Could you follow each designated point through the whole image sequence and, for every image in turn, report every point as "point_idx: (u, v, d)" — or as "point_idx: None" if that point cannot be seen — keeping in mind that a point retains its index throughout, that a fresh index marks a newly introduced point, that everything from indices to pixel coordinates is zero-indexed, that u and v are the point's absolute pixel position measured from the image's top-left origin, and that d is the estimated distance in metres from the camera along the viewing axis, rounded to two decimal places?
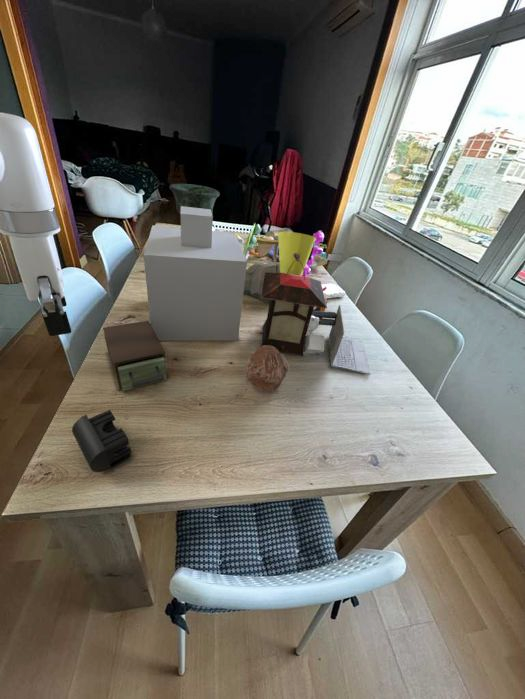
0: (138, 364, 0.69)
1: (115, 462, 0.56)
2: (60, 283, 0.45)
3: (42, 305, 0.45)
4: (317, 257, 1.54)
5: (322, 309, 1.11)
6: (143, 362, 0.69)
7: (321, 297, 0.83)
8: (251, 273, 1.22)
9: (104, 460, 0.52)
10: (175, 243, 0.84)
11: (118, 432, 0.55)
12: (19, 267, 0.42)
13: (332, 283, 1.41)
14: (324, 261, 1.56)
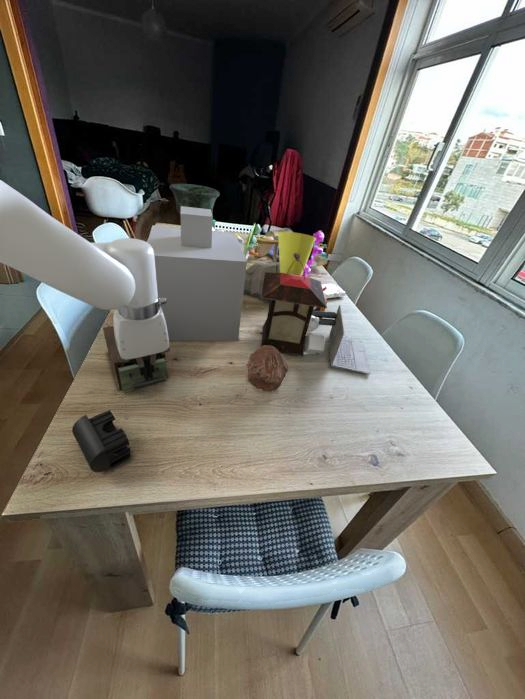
0: None
1: (115, 462, 0.56)
2: (121, 350, 0.58)
3: None
4: (317, 257, 1.54)
5: (322, 309, 1.11)
6: None
7: (321, 297, 0.83)
8: (251, 273, 1.22)
9: (104, 460, 0.52)
10: (175, 243, 0.84)
11: (118, 432, 0.55)
12: None
13: (332, 283, 1.41)
14: (324, 261, 1.56)
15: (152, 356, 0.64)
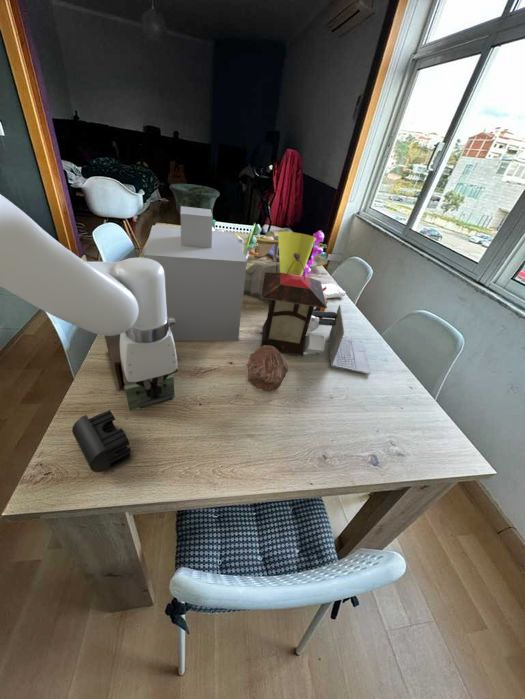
0: None
1: (115, 462, 0.56)
2: (127, 373, 0.55)
3: None
4: (317, 257, 1.54)
5: (322, 309, 1.11)
6: None
7: (321, 297, 0.83)
8: (251, 273, 1.22)
9: (104, 460, 0.52)
10: (175, 243, 0.84)
11: (118, 432, 0.55)
12: None
13: (332, 283, 1.41)
14: (324, 261, 1.56)
15: (159, 378, 0.61)
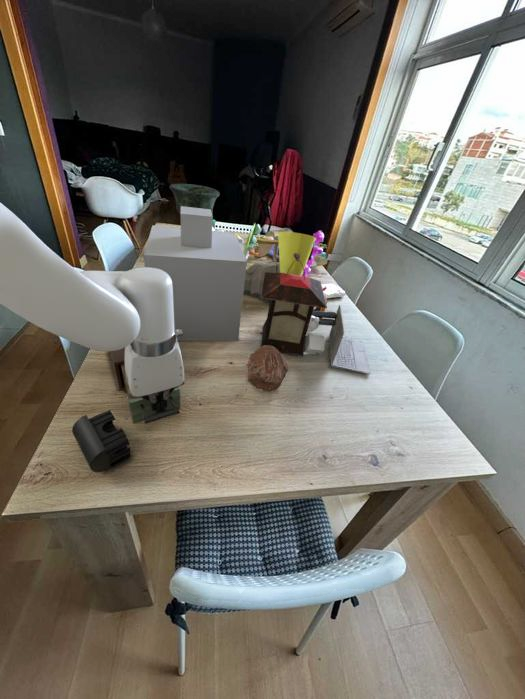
0: None
1: (115, 462, 0.56)
2: (132, 387, 0.53)
3: None
4: (317, 257, 1.54)
5: (322, 309, 1.11)
6: (156, 393, 0.62)
7: (321, 297, 0.83)
8: (251, 273, 1.22)
9: (104, 460, 0.53)
10: (175, 243, 0.84)
11: (118, 432, 0.55)
12: None
13: (332, 283, 1.41)
14: (324, 261, 1.56)
15: (165, 391, 0.58)
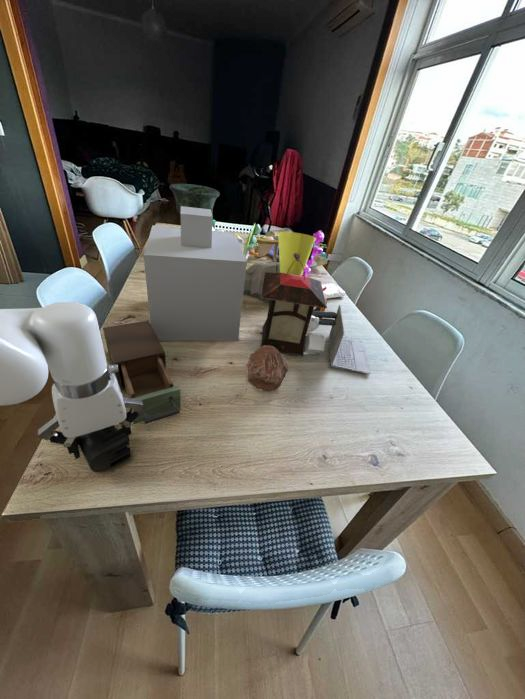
0: (151, 395, 0.61)
1: (115, 462, 0.56)
2: (62, 429, 0.48)
3: None
4: (317, 257, 1.54)
5: (322, 309, 1.11)
6: (156, 393, 0.62)
7: (321, 297, 0.83)
8: (251, 273, 1.22)
9: (104, 460, 0.52)
10: (175, 243, 0.84)
11: (118, 432, 0.55)
12: None
13: (332, 283, 1.41)
14: (324, 261, 1.56)
15: (121, 422, 0.54)
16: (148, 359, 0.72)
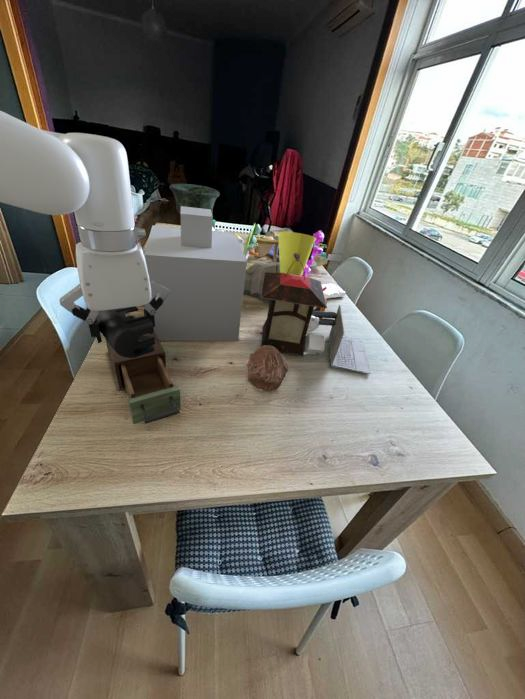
0: (151, 395, 0.61)
1: (138, 352, 0.53)
2: (86, 296, 0.45)
3: (87, 307, 0.49)
4: (317, 257, 1.54)
5: (322, 309, 1.11)
6: (156, 393, 0.62)
7: (321, 297, 0.83)
8: (251, 273, 1.22)
9: (128, 342, 0.49)
10: (175, 243, 0.84)
11: (142, 318, 0.52)
12: None
13: (332, 283, 1.41)
14: (324, 261, 1.56)
15: (145, 306, 0.51)
16: (148, 359, 0.72)
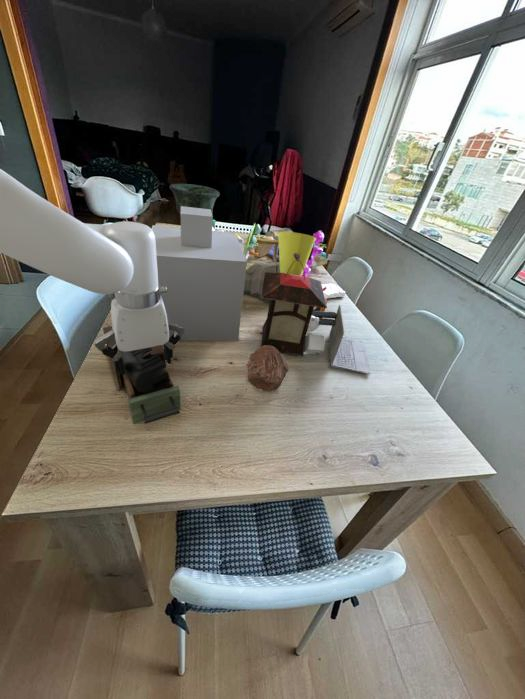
0: (151, 395, 0.62)
1: (157, 385, 0.64)
2: (118, 341, 0.55)
3: (114, 346, 0.59)
4: (317, 257, 1.54)
5: (322, 309, 1.11)
6: (156, 393, 0.62)
7: (321, 297, 0.83)
8: (251, 273, 1.22)
9: (146, 380, 0.60)
10: (175, 243, 0.84)
11: (154, 358, 0.63)
12: None
13: (332, 283, 1.41)
14: (324, 261, 1.56)
15: (166, 343, 0.62)
16: None
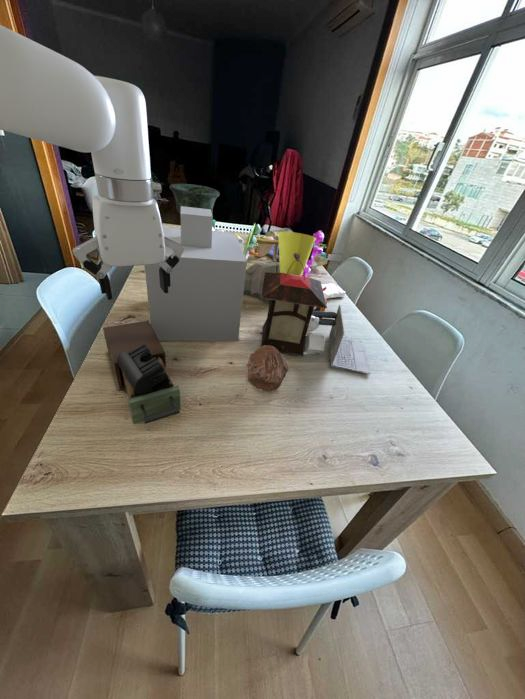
0: (151, 395, 0.62)
1: (157, 386, 0.64)
2: (102, 249, 0.45)
3: (98, 262, 0.49)
4: (317, 257, 1.54)
5: (322, 309, 1.11)
6: (156, 393, 0.62)
7: (321, 297, 0.83)
8: (251, 273, 1.22)
9: (145, 385, 0.60)
10: None
11: (152, 361, 0.62)
12: None
13: (332, 283, 1.41)
14: (324, 261, 1.56)
15: (161, 264, 0.52)
16: None
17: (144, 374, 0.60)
